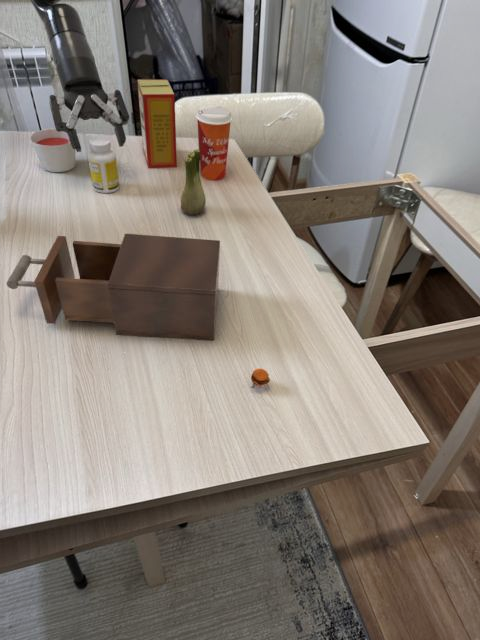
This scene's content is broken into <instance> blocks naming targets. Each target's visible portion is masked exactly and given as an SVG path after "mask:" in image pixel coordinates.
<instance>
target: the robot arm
mask: <svg viewBox="0 0 480 640" xmlns="http://www.w3.org/2000/svg"><path fill="white" fill-rule="evenodd" d="M29 1H30V3H31V4H32V6H33V8H34V9H35V10H34V11H36V13H37V15H38V17H39V18H40V20H41V22H42V25H43V26H44V30H45V31H46V36H47V40H48V42H49V46H50V50H51V56H52V61H53V64H54V66H55V70H56V73H57V76H58V79H59V82H60V85H61V89H62V92H63V96H62V97H61V96H59V97H58V96H56V95H54V94H50V95H49V102H48V103H49V109H50V111H51V116H52V120H53V125H54V129H56V130H57V131H58V132H61V131H63V132H66V133H67V134H68V136H69V140H70V143H71V146H72V148H73V149H75V152H76V153H81V152H82V146H81V143H80V139H79V135H78V133H77V130H76V128H75V127H76V126H77V124H78V121H79V119H80V120H81V119H82V121H88V120H90V119H92V120H99V119H100V118H102V120H104V121H105V122H106V123H109V124H110V125H111V126H112V127H113V128H114V135H115V137H116V141H117V143H118V146H119V147H120V148H121V147H122V148H123V147H124V146H125V143H126V140H127V136H126V134H125V133H126V132H125V129H124V127H123V126H126V125H128V123H129V120H130V114H129V111H128V109H127V106H126V103H125V100H124V98H123V96H122V92H121V90H119V89H115V90H114V92H109V93H107V92H106V91H105V90H104V88H103V84H102V81H101V77H100V75H99V71H98V67H97V65H96V59H95V57H94V54H93V51H92V48H91V46H90V44H89V42H88V39H87V35H86V33H85V29H84V26H83V23H82V20H81V16H80V14H79V12H78V11H77V9H76V8H75V7H74V6H72V5H70V4H68V3H59V2H61V1H62V0H29ZM108 102H111V104H112V105H113V106H115V108H116V110H117V114H118V115H117V114H116V113H115V112H114V110H113V109H112V108H111V107H110V106H109V105H107V104H108ZM63 105H64V106H65V107H66V108H67V109H68V110H70V111H71V112H70V115H69V118H68V119H67V122H64V121H63V119H62V115H61V110H62V109H63Z"/></svg>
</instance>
